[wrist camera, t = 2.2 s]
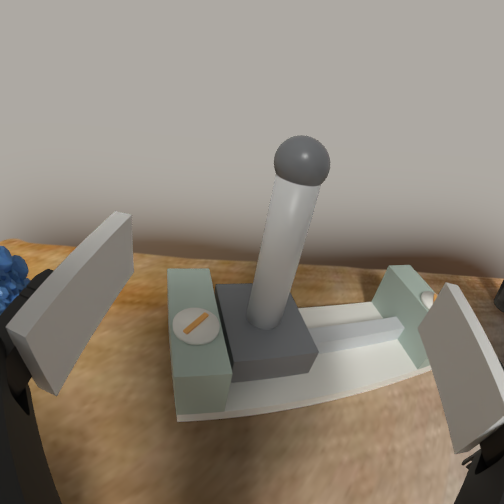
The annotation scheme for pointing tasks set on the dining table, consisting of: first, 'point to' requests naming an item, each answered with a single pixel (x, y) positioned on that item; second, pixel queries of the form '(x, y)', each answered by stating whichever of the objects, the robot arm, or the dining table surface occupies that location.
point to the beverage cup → (500, 298)
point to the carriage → (276, 274)
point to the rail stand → (324, 336)
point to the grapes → (11, 277)
